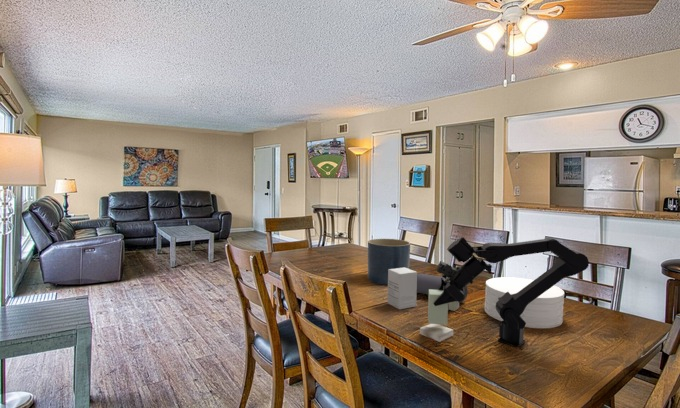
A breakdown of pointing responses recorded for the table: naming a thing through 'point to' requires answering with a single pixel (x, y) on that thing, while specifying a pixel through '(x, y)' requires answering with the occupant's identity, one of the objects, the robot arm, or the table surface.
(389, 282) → the supplement box
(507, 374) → the table surface
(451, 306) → the box
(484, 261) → the robot arm
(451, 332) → the base block
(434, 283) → the bluetooth speaker
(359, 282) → the table surface
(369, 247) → the planter
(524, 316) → the plate stack
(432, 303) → the green block
